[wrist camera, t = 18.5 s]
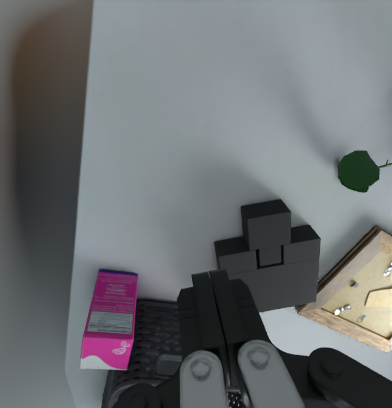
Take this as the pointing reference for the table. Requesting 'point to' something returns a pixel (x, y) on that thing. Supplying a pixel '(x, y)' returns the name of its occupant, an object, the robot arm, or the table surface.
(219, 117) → the table surface
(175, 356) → the storage bin
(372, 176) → the flower
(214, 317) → the robot arm
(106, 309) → the supplement box
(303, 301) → the base pad
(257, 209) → the small pad
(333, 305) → the picture frame
